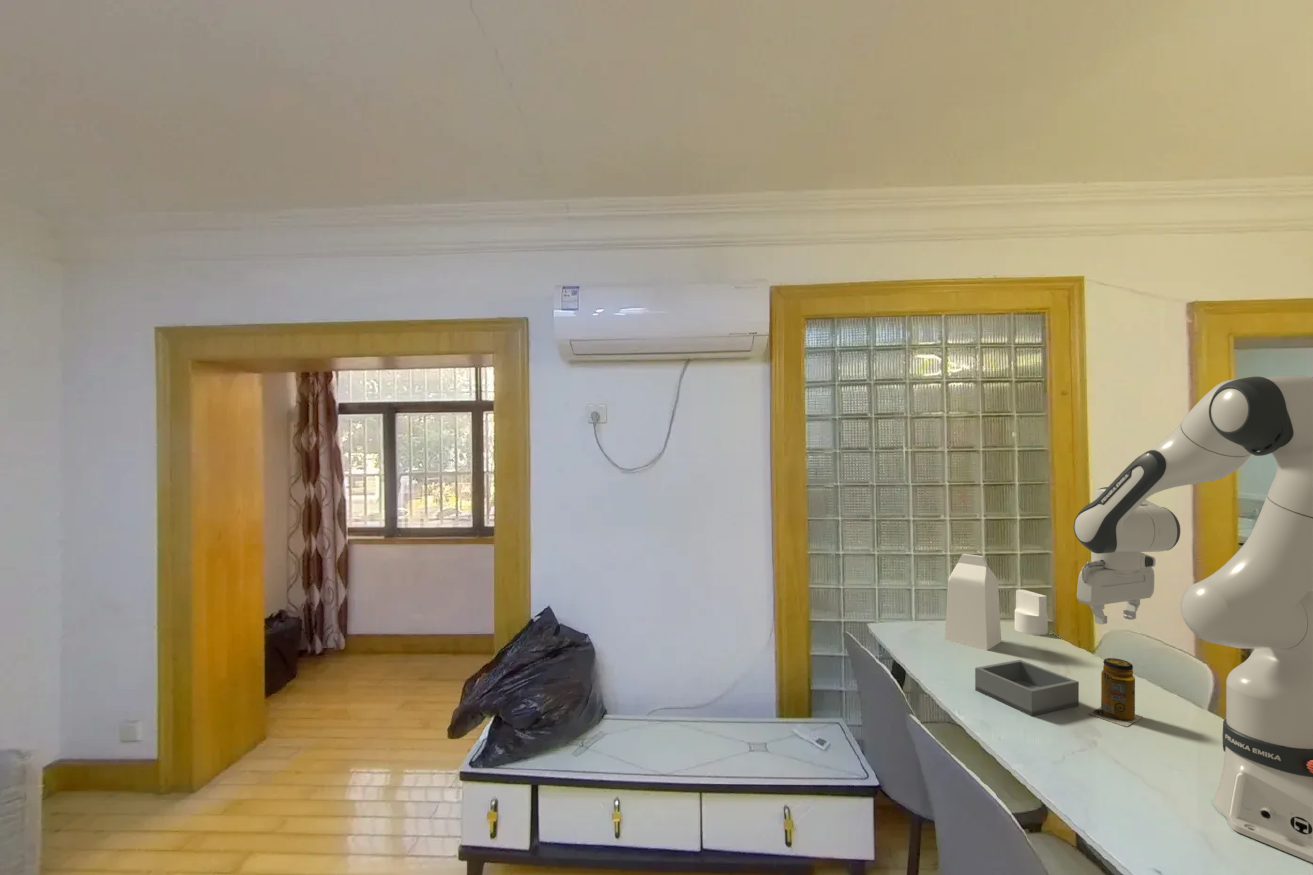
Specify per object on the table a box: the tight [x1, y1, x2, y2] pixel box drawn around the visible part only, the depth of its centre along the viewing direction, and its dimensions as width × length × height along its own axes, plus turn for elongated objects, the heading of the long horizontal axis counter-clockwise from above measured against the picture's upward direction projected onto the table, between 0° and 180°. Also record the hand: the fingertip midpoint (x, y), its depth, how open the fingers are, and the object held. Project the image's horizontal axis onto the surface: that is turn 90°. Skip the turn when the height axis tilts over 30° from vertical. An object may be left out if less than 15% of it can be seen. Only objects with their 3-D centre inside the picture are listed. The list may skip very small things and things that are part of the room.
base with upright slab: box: [1014, 589, 1049, 636], centre depth 197 cm, size 9×9×12 cm
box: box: [974, 659, 1080, 717], centre depth 147 cm, size 15×15×6 cm
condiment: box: [1088, 657, 1143, 727], centre depth 137 cm, size 7×8×12 cm
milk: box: [944, 553, 1002, 651], centre depth 187 cm, size 12×12×26 cm
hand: (1115, 621), depth 137 cm, fingers open, 8 cm apart
